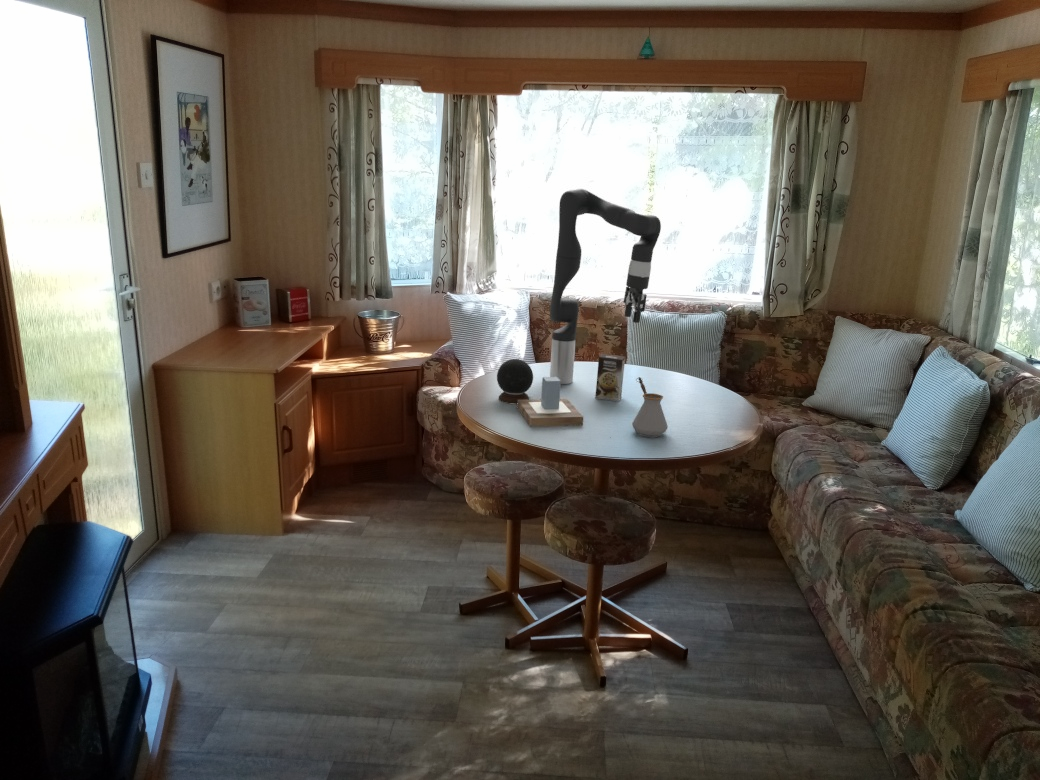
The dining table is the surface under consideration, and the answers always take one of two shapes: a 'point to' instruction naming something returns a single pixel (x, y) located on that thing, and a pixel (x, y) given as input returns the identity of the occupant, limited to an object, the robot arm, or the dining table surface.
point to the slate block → (550, 393)
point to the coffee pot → (650, 415)
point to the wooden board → (549, 413)
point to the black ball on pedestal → (514, 380)
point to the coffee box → (610, 377)
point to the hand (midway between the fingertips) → (631, 319)
